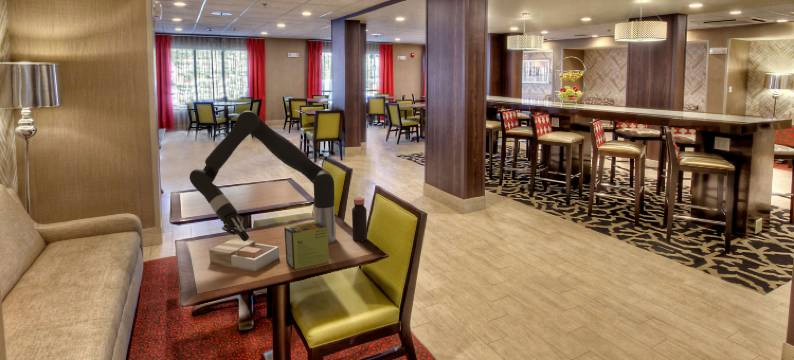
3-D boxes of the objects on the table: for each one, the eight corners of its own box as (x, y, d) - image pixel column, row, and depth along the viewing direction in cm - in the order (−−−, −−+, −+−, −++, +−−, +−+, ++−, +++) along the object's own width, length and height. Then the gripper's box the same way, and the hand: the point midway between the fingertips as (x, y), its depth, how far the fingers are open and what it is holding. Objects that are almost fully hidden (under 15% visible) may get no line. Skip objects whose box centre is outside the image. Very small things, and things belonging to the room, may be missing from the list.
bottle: (349, 240, 237) (348, 199, 233) (357, 236, 243) (356, 196, 239) (362, 242, 234) (361, 201, 230) (369, 238, 240) (369, 197, 235)
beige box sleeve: (236, 250, 225) (235, 237, 224) (256, 253, 221) (255, 240, 219) (210, 263, 210) (209, 249, 209) (231, 267, 206) (230, 253, 205)
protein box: (329, 262, 211) (328, 226, 208) (294, 269, 203) (292, 233, 200) (319, 254, 220) (318, 220, 217) (285, 261, 212) (283, 226, 209)
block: (245, 246, 213) (261, 248, 211) (246, 257, 214) (262, 259, 212) (238, 250, 209) (254, 252, 206) (239, 261, 210) (255, 264, 207)
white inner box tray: (256, 254, 221) (255, 243, 219) (279, 257, 216) (278, 246, 215) (231, 267, 206) (230, 255, 205) (255, 271, 202) (254, 259, 201)
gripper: (214, 206, 205) (239, 239, 202) (238, 198, 216) (262, 230, 213) (206, 217, 209) (230, 249, 206) (230, 209, 220) (253, 240, 217)
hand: (246, 239), depth 210 cm, fingers closed
